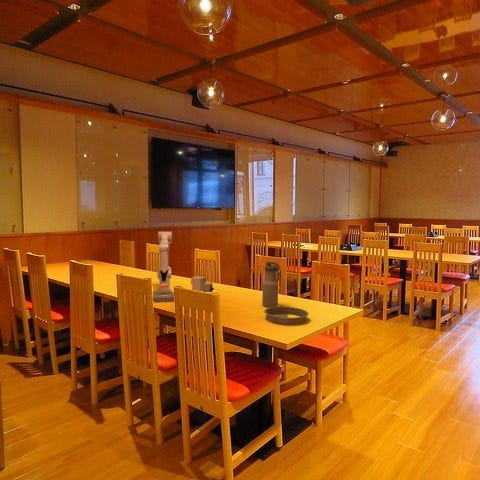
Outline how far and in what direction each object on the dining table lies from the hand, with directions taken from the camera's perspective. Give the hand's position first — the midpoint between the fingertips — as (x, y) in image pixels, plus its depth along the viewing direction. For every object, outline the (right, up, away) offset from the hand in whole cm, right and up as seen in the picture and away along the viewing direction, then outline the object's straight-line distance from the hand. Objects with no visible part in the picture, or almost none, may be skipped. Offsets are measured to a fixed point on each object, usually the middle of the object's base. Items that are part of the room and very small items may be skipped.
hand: (163, 281), depth 272 cm
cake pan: (+78, -17, -49) cm, 93 cm away
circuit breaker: (+27, -12, -7) cm, 31 cm away
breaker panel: (+2, -11, -7) cm, 13 cm away
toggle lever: (+1, -7, -5) cm, 9 cm away
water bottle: (+71, -14, -20) cm, 75 cm away
